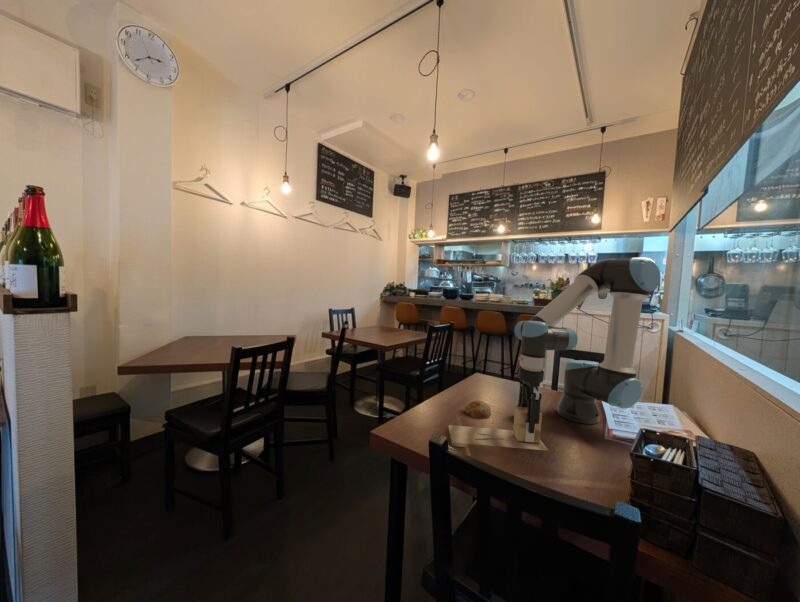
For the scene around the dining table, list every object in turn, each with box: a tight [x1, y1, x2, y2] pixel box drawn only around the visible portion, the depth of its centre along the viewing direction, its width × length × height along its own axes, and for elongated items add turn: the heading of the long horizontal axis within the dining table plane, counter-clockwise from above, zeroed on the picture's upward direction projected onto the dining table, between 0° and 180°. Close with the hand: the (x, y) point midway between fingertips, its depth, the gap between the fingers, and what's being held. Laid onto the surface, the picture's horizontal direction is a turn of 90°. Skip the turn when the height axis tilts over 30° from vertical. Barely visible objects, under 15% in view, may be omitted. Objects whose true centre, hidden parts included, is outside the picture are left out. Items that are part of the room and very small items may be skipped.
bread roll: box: [464, 399, 492, 420], centre depth 122 cm, size 10×10×8 cm
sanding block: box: [512, 405, 543, 444], centre depth 103 cm, size 7×5×10 cm
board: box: [448, 424, 549, 451], centre depth 104 cm, size 30×12×1 cm, turn 87°
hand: (526, 436), depth 103 cm, fingers open, 5 cm apart
